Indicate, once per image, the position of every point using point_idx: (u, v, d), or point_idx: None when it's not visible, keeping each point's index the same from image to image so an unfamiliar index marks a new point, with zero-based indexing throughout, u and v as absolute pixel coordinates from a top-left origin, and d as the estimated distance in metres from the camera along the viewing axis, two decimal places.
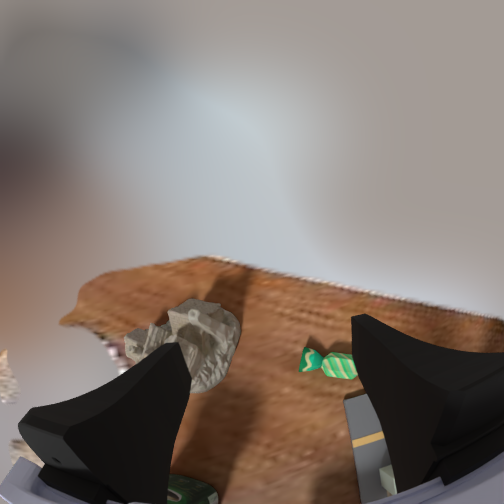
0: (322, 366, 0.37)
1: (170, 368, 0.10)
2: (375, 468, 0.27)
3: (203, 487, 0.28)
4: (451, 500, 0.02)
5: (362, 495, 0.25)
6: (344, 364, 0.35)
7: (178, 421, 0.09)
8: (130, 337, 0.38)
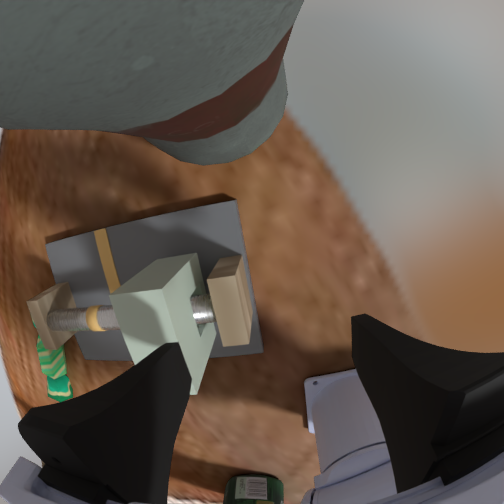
0: (57, 377, 0.23)
1: (170, 368, 0.10)
2: None
3: (227, 492, 0.25)
4: (451, 500, 0.02)
5: (239, 353, 0.22)
6: (44, 361, 0.21)
7: (178, 421, 0.09)
8: None
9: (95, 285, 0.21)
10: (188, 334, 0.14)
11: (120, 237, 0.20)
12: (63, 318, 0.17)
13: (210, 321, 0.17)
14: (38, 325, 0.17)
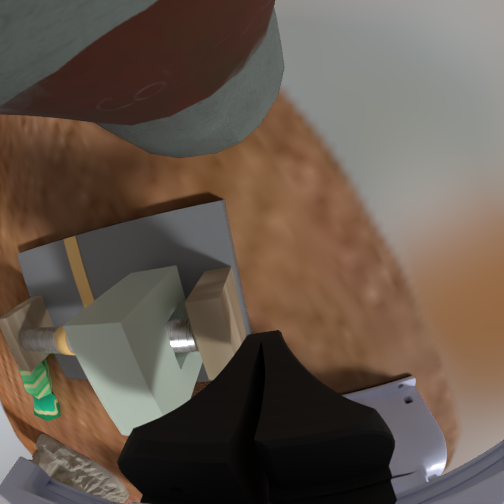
0: (42, 396, 0.20)
1: (263, 360, 0.09)
2: None
3: None
4: (451, 500, 0.02)
5: None
6: (26, 380, 0.18)
7: None
8: None
9: (69, 300, 0.18)
10: (163, 371, 0.11)
11: (91, 246, 0.16)
12: (33, 339, 0.14)
13: (192, 350, 0.13)
14: (10, 345, 0.14)
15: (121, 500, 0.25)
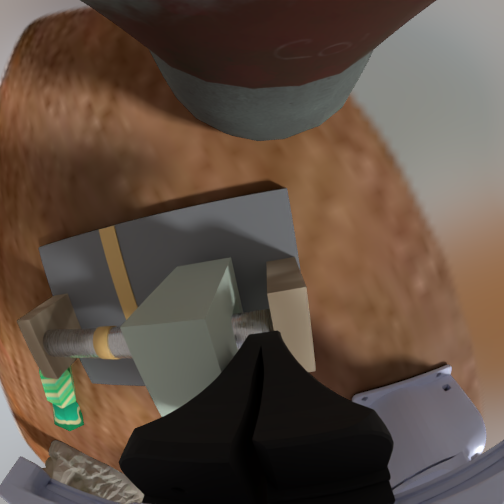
0: None
1: None
2: None
3: None
4: (451, 500, 0.02)
5: None
6: (49, 389, 0.17)
7: None
8: None
9: (102, 297, 0.17)
10: None
11: (134, 237, 0.16)
12: (64, 342, 0.13)
13: None
14: (33, 350, 0.13)
15: None
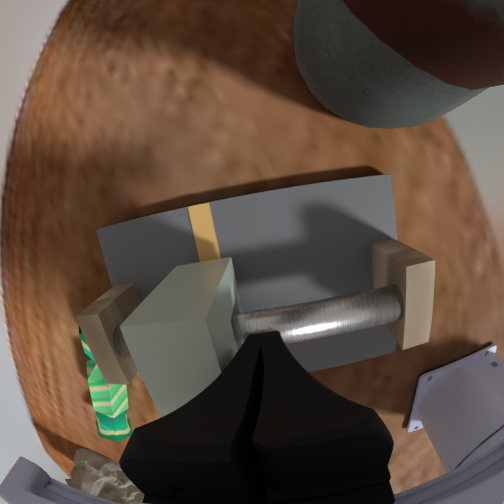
0: None
1: None
2: (312, 339, 0.17)
3: None
4: (451, 500, 0.02)
5: (371, 356, 0.17)
6: (99, 397, 0.17)
7: None
8: None
9: None
10: None
11: (233, 215, 0.15)
12: None
13: (392, 320, 0.12)
14: (96, 351, 0.13)
15: None
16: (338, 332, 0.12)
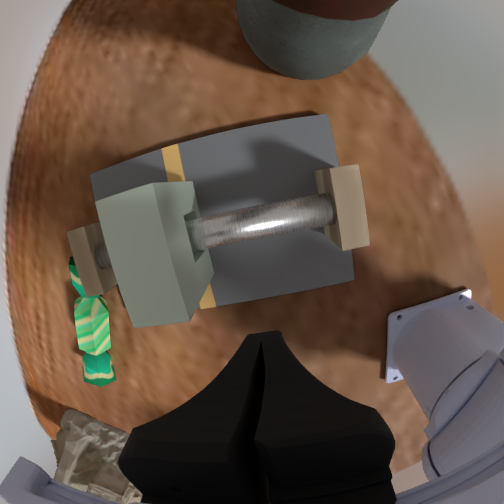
0: (98, 354, 0.21)
1: (263, 360, 0.09)
2: (269, 261, 0.20)
3: None
4: (451, 500, 0.02)
5: (329, 282, 0.20)
6: (83, 332, 0.20)
7: None
8: None
9: None
10: (181, 249, 0.13)
11: (196, 152, 0.18)
12: None
13: (327, 221, 0.15)
14: (79, 263, 0.15)
15: None
16: (276, 229, 0.15)
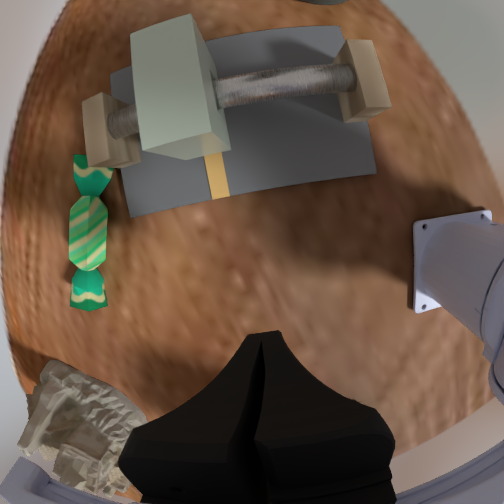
0: (90, 269, 0.20)
1: (263, 360, 0.09)
2: (289, 145, 0.18)
3: None
4: (451, 500, 0.02)
5: (351, 173, 0.18)
6: (76, 234, 0.18)
7: None
8: None
9: None
10: (207, 79, 0.11)
11: (219, 48, 0.16)
12: None
13: (349, 83, 0.13)
14: (89, 130, 0.13)
15: None
16: (300, 84, 0.13)
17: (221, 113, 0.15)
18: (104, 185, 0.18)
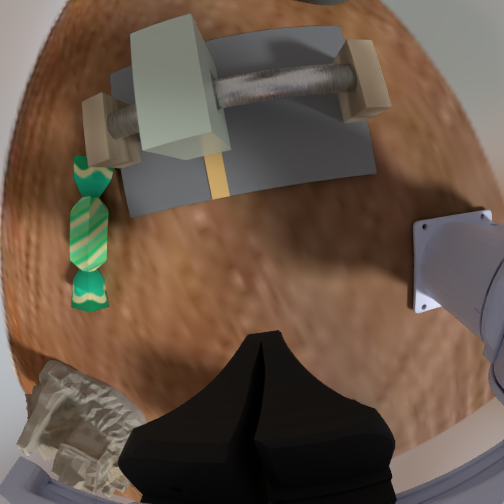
0: (91, 270, 0.20)
1: (263, 360, 0.09)
2: (289, 145, 0.18)
3: None
4: (451, 500, 0.02)
5: (351, 173, 0.18)
6: (77, 235, 0.18)
7: None
8: None
9: None
10: (207, 79, 0.11)
11: (219, 48, 0.16)
12: None
13: (349, 83, 0.13)
14: (89, 130, 0.13)
15: None
16: (300, 84, 0.13)
17: (221, 113, 0.15)
18: (104, 186, 0.18)
